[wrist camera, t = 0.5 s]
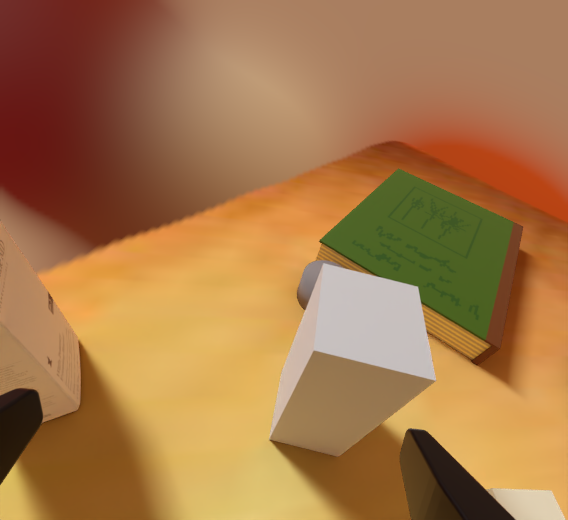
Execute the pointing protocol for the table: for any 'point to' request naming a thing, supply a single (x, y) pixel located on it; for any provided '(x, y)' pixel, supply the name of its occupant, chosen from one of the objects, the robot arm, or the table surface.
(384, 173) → the table surface
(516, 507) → the cream block
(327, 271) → the light grey block
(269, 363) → the table surface
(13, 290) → the skincare box
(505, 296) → the hardcover book
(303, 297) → the grey rounded dome
